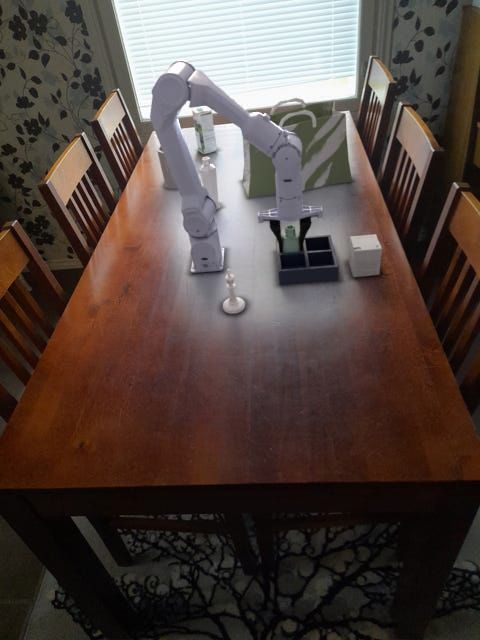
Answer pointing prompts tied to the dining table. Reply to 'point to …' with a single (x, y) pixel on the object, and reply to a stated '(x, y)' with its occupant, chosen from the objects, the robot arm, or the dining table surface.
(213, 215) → the robot arm
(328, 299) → the dining table surface
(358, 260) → the white cardboard box
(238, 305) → the chess piece
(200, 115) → the syrup box
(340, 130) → the grocery bag
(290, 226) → the bottle
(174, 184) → the cup
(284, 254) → the divided tray
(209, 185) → the perfume bottle
